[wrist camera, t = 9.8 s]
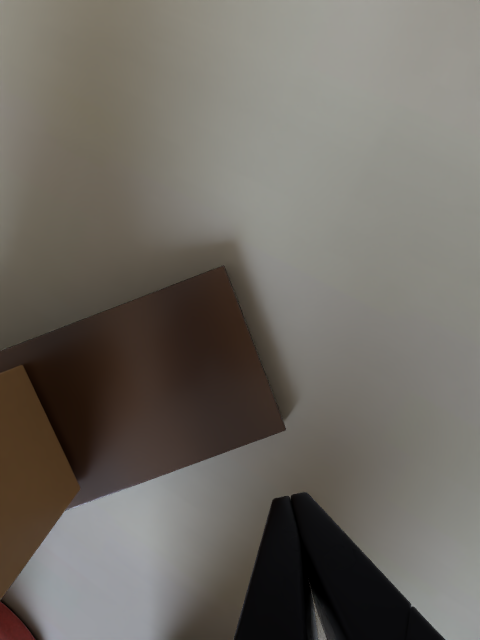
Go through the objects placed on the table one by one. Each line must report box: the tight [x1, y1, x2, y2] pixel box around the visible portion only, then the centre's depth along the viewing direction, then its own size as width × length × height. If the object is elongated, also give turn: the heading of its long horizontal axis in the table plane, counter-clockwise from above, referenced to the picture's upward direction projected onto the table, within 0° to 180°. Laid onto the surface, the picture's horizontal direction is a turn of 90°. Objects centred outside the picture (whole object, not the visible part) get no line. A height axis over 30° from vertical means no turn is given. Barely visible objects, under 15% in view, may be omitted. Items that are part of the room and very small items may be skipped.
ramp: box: [0, 266, 286, 511], centre depth 18 cm, size 19×9×6 cm, turn 111°
